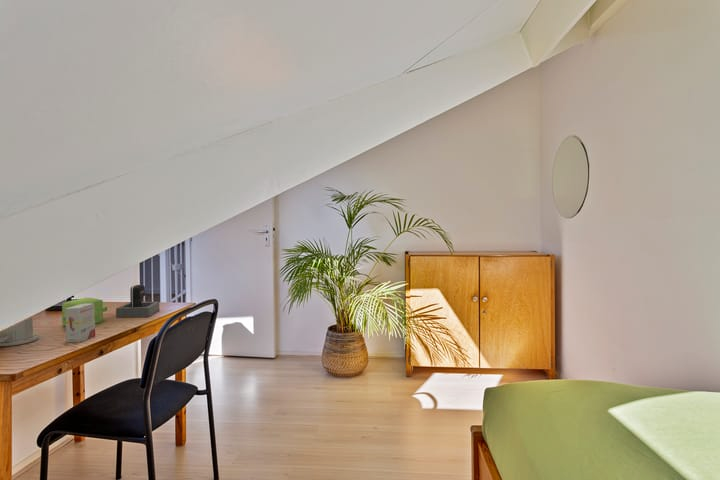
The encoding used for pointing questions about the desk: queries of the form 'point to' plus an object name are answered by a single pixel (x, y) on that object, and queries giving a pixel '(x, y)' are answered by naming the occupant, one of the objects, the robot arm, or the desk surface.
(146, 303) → the tray
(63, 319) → the lime green rounded box
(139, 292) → the battery
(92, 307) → the ink box
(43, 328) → the desk surface
